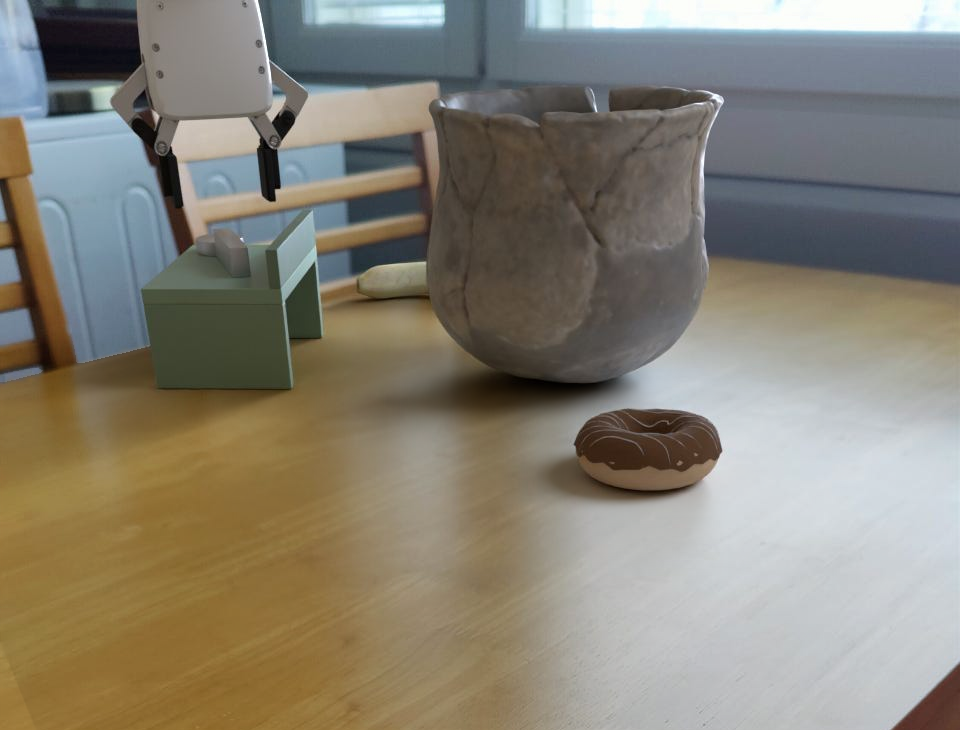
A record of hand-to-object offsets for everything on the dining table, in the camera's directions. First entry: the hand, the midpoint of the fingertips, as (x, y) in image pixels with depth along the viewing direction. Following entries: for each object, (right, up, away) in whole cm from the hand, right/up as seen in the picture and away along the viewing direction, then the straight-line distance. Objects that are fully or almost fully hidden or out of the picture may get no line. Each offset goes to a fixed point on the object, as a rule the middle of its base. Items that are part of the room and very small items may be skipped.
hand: (223, 201), depth 106 cm
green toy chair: (0, -11, +8) cm, 13 cm away
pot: (+30, -14, +3) cm, 33 cm away
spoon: (0, -3, +4) cm, 5 cm away
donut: (+35, -29, -17) cm, 48 cm away
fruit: (+17, +3, +26) cm, 31 cm away
